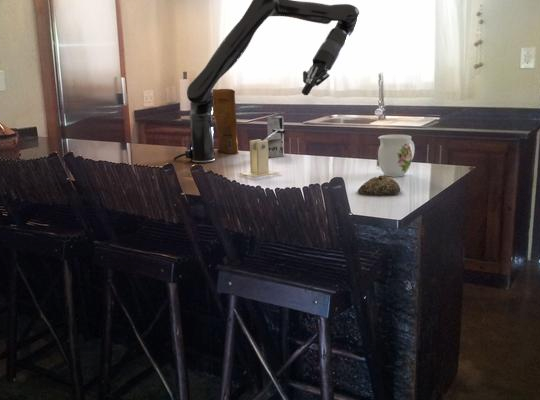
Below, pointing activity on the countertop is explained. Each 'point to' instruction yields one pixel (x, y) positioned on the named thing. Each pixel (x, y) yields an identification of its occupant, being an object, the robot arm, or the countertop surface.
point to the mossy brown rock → (380, 186)
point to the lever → (271, 135)
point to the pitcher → (395, 154)
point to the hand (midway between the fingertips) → (304, 94)
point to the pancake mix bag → (225, 120)
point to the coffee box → (275, 137)
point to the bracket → (259, 159)
